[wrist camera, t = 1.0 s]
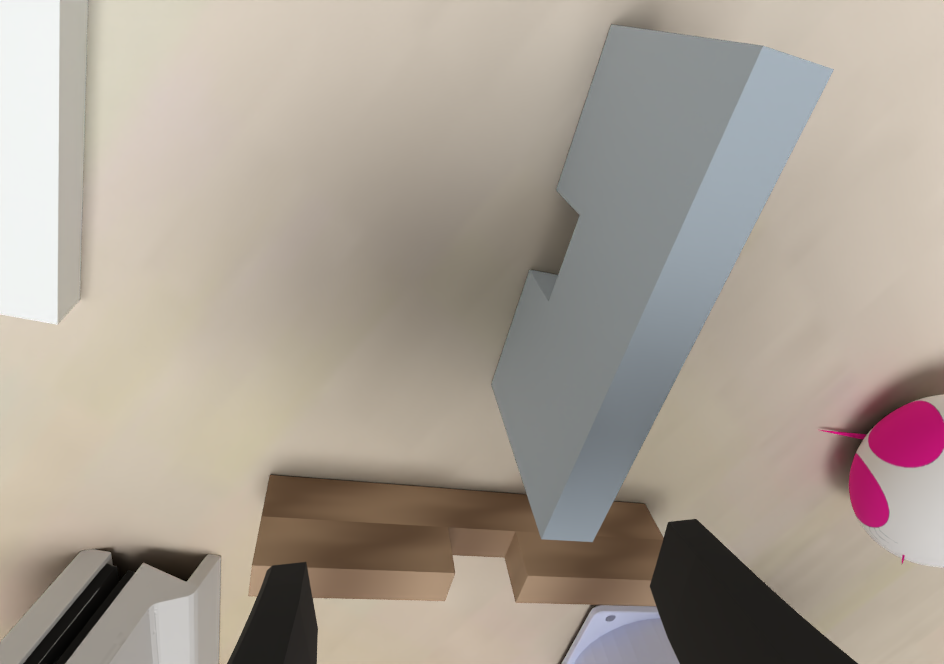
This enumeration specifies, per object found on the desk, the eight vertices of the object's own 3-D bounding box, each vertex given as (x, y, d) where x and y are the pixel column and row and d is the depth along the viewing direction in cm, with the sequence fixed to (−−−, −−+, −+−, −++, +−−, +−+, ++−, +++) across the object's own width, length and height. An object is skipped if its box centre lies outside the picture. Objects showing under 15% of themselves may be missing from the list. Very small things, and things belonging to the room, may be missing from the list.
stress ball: (848, 325, 27) (878, 378, 21) (1047, 398, 25) (1141, 480, 19) (770, 453, 30) (777, 529, 24) (940, 528, 28) (992, 631, 22)
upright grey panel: (659, 39, 16) (833, 69, 10) (529, 389, 22) (592, 542, 16) (611, 24, 16) (763, 45, 10) (491, 384, 21) (541, 539, 15)
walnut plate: (645, 503, 26) (687, 582, 22) (632, 527, 26) (671, 606, 23) (269, 474, 22) (252, 565, 18) (266, 503, 22) (248, 595, 19)
